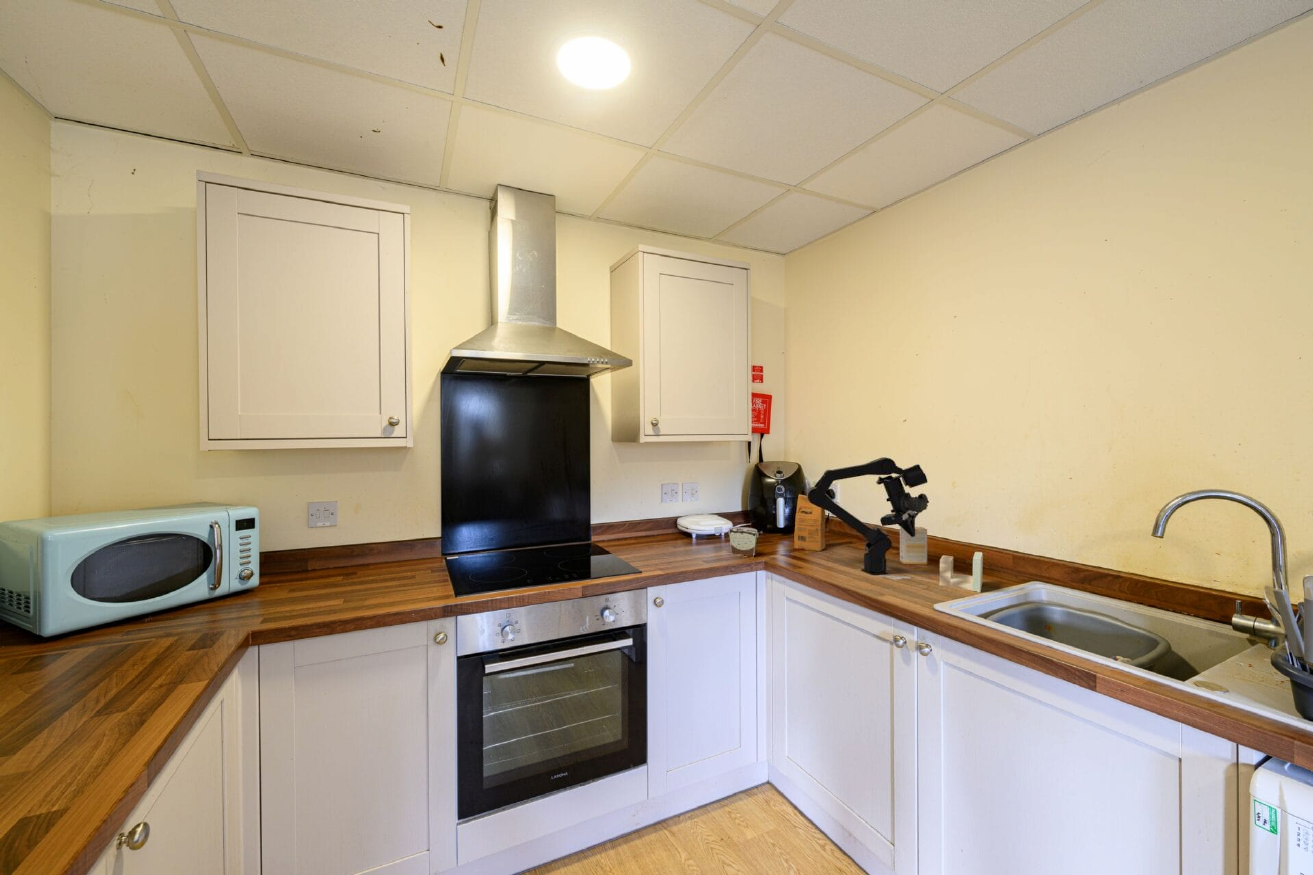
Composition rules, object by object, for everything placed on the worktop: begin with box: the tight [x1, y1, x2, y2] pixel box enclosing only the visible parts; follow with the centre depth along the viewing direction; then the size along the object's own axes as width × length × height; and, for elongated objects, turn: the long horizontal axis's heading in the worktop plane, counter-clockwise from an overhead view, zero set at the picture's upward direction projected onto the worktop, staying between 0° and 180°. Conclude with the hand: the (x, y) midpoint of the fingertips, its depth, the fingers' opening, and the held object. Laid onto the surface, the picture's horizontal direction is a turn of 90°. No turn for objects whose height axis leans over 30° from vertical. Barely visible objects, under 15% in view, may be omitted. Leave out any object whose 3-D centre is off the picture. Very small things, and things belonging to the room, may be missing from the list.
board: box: [971, 551, 984, 593], centre depth 164 cm, size 2×11×10 cm, turn 146°
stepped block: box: [939, 554, 973, 591], centre depth 167 cm, size 9×8×8 cm
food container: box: [727, 526, 759, 556], centre depth 206 cm, size 12×6×10 cm, turn 58°
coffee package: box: [793, 494, 826, 552], centre depth 217 cm, size 10×12×22 cm
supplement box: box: [899, 526, 928, 566], centre depth 194 cm, size 8×5×13 cm, turn 84°
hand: (913, 536), depth 178 cm, fingers closed
